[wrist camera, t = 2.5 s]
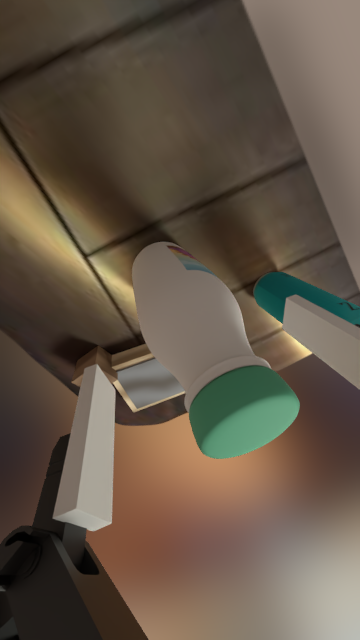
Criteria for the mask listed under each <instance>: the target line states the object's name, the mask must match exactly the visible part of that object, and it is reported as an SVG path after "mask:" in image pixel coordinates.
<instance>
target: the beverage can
mask: <svg viewBox="0 0 360 640" xmlns="http://www.w3.org/2000/svg"><path fill="white" fill-rule="evenodd" d="M253 295H254V298H255V300H256V302H257V304H258V305H259V306H260V307H262V308H263V309H264V310H265V311H267V312H268V313H269V314H271V315H272V316H273V317H274V318H276V319H277V320H278V321H280V322H281V323H282V324H283V318H284V310H285V303H286V298H287V297H290V296H293V295H298V296H300V297H302V298H304V299H306V300H308V301H310V302H311V303H313V304H315V305H317V306H319V307H321V308H323V309H325V310H327V311H329V312H330V313H332V314H334V315H336V316H338V317H340V318H342V319H344V320H346V321H348V322H349V323H351V324H353V325H355V324H359V325H360V307H359V306H357V305H355V304H352V303H350V302H348V301H346V300H344V299H341V298H339V297H337V296H335V295H333V294H330V293H328V292H326V291H324V290H322V289H319V288H317V287H315V286H313V285H311V284H308V283H306V282H304V281H302V280H300V279H297V278H295V277H293V276H291V275H289V274H286V273H284V272H269V273H266V274H264V275H263V276H261V277H260V278H259V279H258V280H257V282H256V283H255V285H254V288H253Z"/></svg>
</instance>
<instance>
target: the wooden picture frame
mask: <svg viewBox="0 0 360 640" xmlns="http://www.w3.org/2000/svg"><path fill="white" fill-rule="evenodd" d="M111 367H112V368H113V369H115V370H116V371H117V373H118V380H116V381H115V382H113V384H114V385H115V387H116V388H117V390H118V391H119V393H120V394H121V395H122V397H123V398H124V400H125V401H126V402H127V404H128V405H129V407H130V408H131V410H132V411H133V412H136V411H139V410H141V409H144V408H147V407H149V406H152V405H155V404H157V403H160V402H163V401H165V400H168V399H170V398H173V397H176V396H178V395H181V394H184V393H186V392H185V390H184V389H183V387H182V386H181V384H180V383H179V381H178V380H177V379H176V378H175V376H174V375H173V374H172V373H171V372H170V371H168V370H167V369H166V368H165V367H164V366H163V365H162V364H161V363H160V362H159V361H158V360H157V359H156V358H155V357H154V356H153V354H152V353H151V351H150V350H149V348H148V346H147V344H143V345H140V346H137V347H134V348H132V349H129V350H126V351H123V352H120V353H117V354H114V355H112V365H111Z"/></svg>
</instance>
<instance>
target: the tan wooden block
mask: <svg viewBox="0 0 360 640" xmlns="http://www.w3.org/2000/svg"><path fill="white" fill-rule="evenodd" d="M95 364H97V365H98V366H99V367H100V369H101V370H102V372H103V373H104V374H105V376H106V377H107V379H108V380H109V382H110V383H111V384H112V383H113V382H115V381H116V380H118V373H117V371H116V370H115V369H113V368H112V367H111V365H112V355H111V354H110V353H108V352H107V351H105V350H104V349H103V348H101V347H100V346H97V347H95V348H94V349H92V350H91V351H90V352H88V353H87V354H86V355H84V356H83V357H81V358H80V359H79V360H77V363H76V367H75V371H74V375H73V378H72V383H74V384H76V385H78V386H80V387H81V383H82V378H83V374H84V369H85V368H87V367H90V366H92V365H95Z"/></svg>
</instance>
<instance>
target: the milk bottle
mask: <svg viewBox="0 0 360 640" xmlns="http://www.w3.org/2000/svg"><path fill="white" fill-rule="evenodd" d="M132 282H133V289H134V296H135V302H136V308H137V314H138V319H139V323H140V328H141V332H142V335H143V337H144V340H145V342H146V344H147V346H148V348H149V350H150V351H151V353H152V354H153V356H154V357H155V358H156V359H157V360H158V361H159V362H160V363H161V364H162V365H163V366H164V367H165V368H166V369H167V370H168V371H170V372H171V373H172V374H173V375H174V376H175V378H176V379H177V380H178V381H179V383H180V384H181V386H182V387H183V389H184V390H185V392H186V396H185V408H186V410H187V411H188V413H189V419H190V423H191V427H192V431H193V434H194V437H195V439H196V442H197V445H198V446H199V448H200V450H201V452H202V453H203V454H205V455H206V456H209V457H211V458H216V459H223V458H231V457H235V456H239V455H242V454H246V453H248V452H251V451H253V450H256V449H258V448H259V447H262V446H263V445H265V444H267V443H269V442H270V441H272V440H273V439H275V438H276V437H277V436H279V435H280V434H281V433H282V432H284V431H285V429H287V428H288V427H289V425H291V423H292V422H293V421H294V419H295V418H296V416H297V414H298V411H299V405H300V404H299V400H298V398H297V397H296V395H295V393H294V392H293V391H292V389H291V388H290V387H289V386H288V384H287V383H286V382H285V381H284V380H283V379H282V378H281V377H280V376H279V375H278V374H277V373H276V372H275V371H273V370H272V369H271V367H270V365H269V363H268V362H267V361H266V360H264V359H262V358H260V357H257V356H255V355H254V353H253V352H252V350H251V347H250V345H249V343H248V340H247V337H246V333H245V329H244V323H243V318H242V314H241V311H240V308H239V305H238V303H237V301H236V299H235V297H234V296H233V294H232V293H231V291H230V290H229V289H228V288H227V286H226V285H225V284H224V283H223V282H222V281H221V280H220V279H219V278H218V277H217V276H216V275H214V274H213V273H212V272H211V271H210V270H209V269H208V268H206V267H205V266H204V265H203V264H202V263H200V262H199V261H198V260H197V259H195V258H194V257H193V256H192V255H191V254H189V253H188V252H187V251H186V250H184V249H183V248H181V247H180V246H178V245H176V244H174V243H171V242H156V243H153V244H151V245H148V246H147V247H145V248H144V249H143V250H142V251H141V252H140V253H139V254H138V255H137V257H136V259H135V261H134V263H133V267H132Z"/></svg>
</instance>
